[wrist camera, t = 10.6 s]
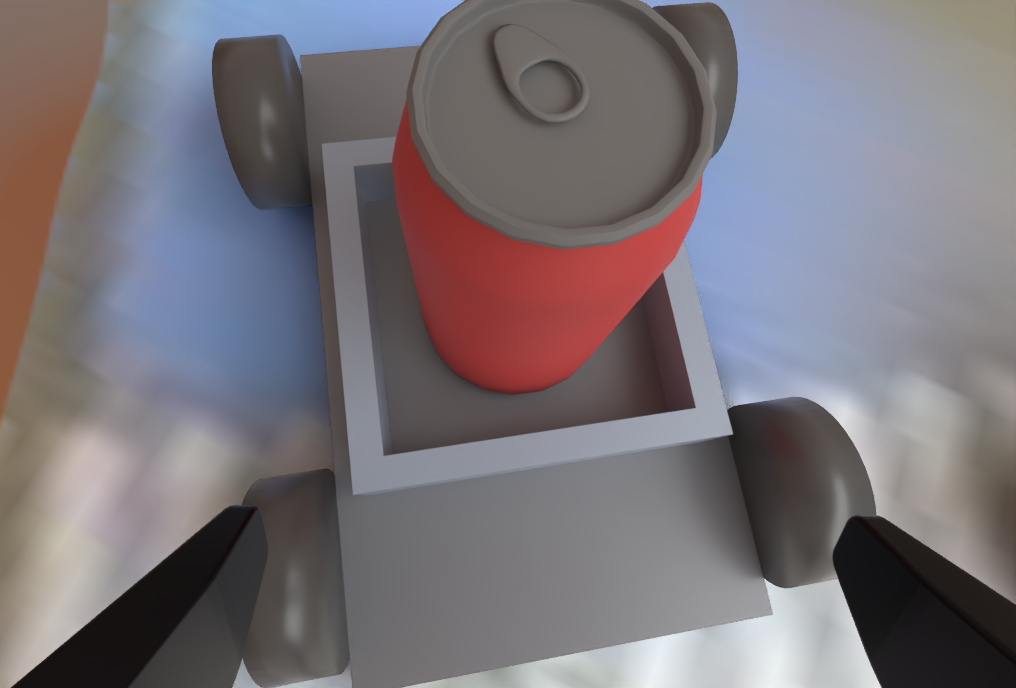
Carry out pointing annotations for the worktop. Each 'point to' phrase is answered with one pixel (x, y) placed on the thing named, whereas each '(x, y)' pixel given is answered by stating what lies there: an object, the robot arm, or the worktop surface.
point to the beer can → (546, 178)
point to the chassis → (504, 431)
